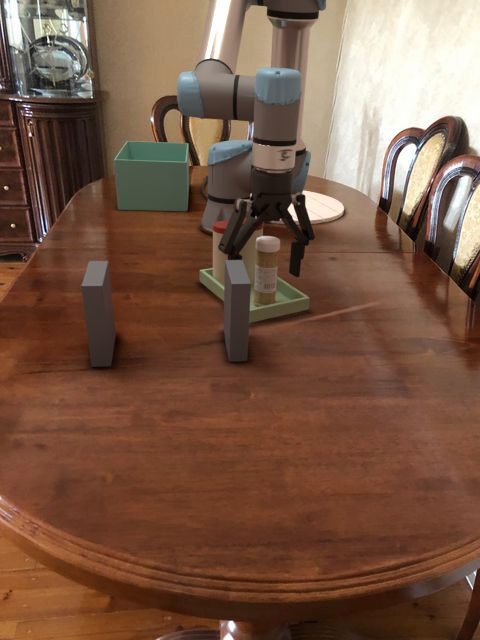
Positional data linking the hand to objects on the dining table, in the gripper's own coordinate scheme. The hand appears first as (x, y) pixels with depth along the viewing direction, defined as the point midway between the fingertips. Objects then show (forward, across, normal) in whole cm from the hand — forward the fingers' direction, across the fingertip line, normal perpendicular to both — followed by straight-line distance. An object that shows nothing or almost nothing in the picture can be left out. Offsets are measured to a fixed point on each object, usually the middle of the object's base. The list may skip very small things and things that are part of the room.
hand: (265, 280), depth 103 cm
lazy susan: (+7, +45, +62) cm, 76 cm away
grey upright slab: (+5, -13, -12) cm, 18 cm away
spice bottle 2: (+5, +3, +11) cm, 12 cm away
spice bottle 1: (+5, -3, +11) cm, 13 cm away
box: (+7, +11, +86) cm, 87 cm away
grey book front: (+5, -34, -3) cm, 34 cm away
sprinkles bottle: (+5, 0, 0) cm, 5 cm away
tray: (+6, 0, +5) cm, 7 cm away
